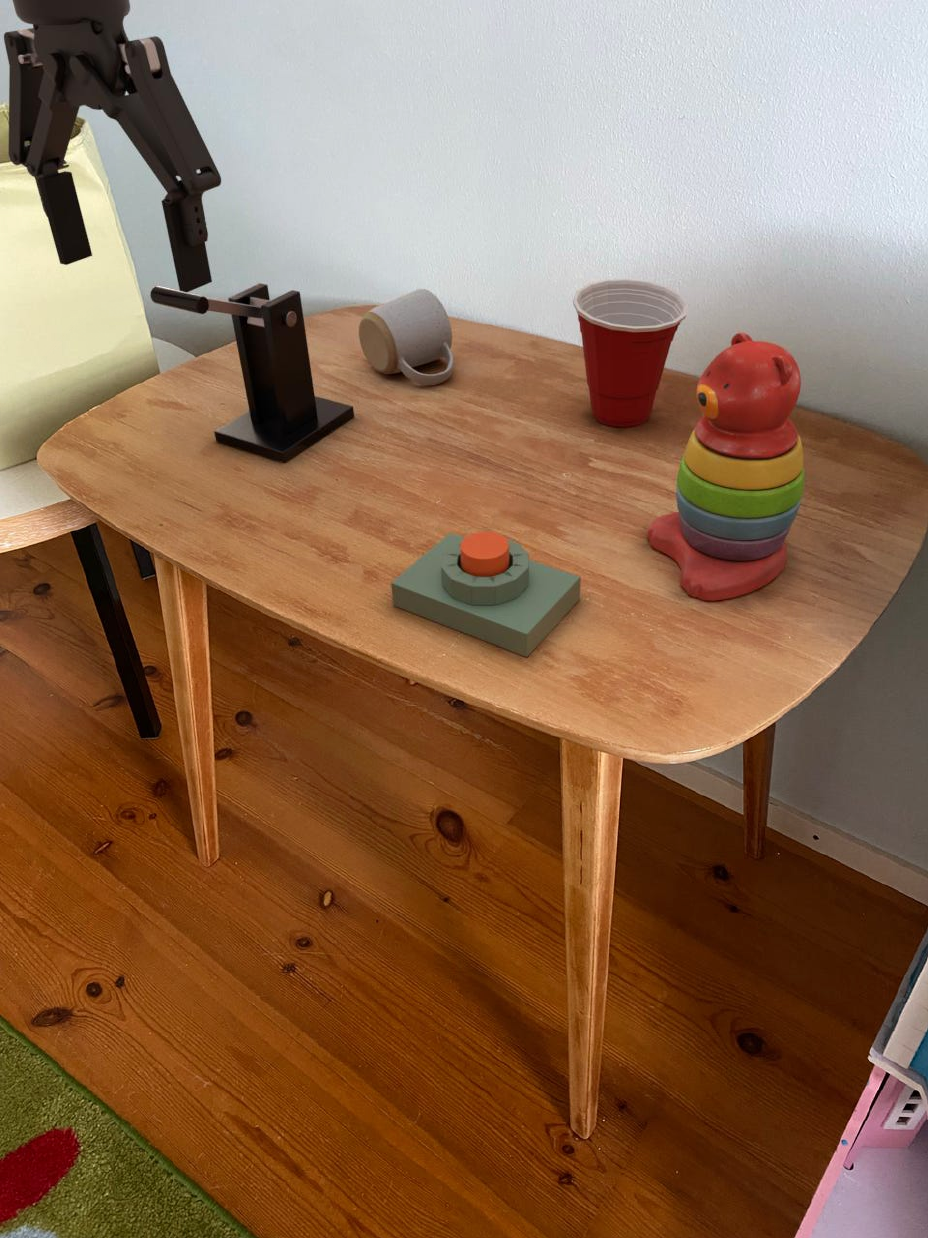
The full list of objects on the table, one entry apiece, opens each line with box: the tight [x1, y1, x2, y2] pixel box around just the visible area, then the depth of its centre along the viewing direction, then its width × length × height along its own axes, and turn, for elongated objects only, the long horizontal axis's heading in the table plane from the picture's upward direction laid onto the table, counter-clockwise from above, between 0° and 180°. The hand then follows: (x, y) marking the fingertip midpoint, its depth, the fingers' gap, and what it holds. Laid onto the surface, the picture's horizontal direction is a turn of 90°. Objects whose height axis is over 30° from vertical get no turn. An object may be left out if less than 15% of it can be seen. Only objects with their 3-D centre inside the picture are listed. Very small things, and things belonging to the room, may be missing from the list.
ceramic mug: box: [358, 288, 454, 386], centre depth 107 cm, size 11×8×8 cm
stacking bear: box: [646, 332, 805, 601], centre depth 74 cm, size 11×10×18 cm
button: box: [460, 531, 509, 577], centre depth 73 cm, size 4×4×2 cm
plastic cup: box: [572, 278, 690, 428], centre depth 96 cm, size 11×11×12 cm
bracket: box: [213, 282, 355, 464], centre depth 95 cm, size 11×9×14 cm
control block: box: [390, 532, 582, 658], centre depth 75 cm, size 12×8×4 cm, turn 56°
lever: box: [150, 285, 272, 327], centre depth 88 cm, size 13×6×2 cm, turn 147°
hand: (134, 272), depth 78 cm, fingers open, 13 cm apart
